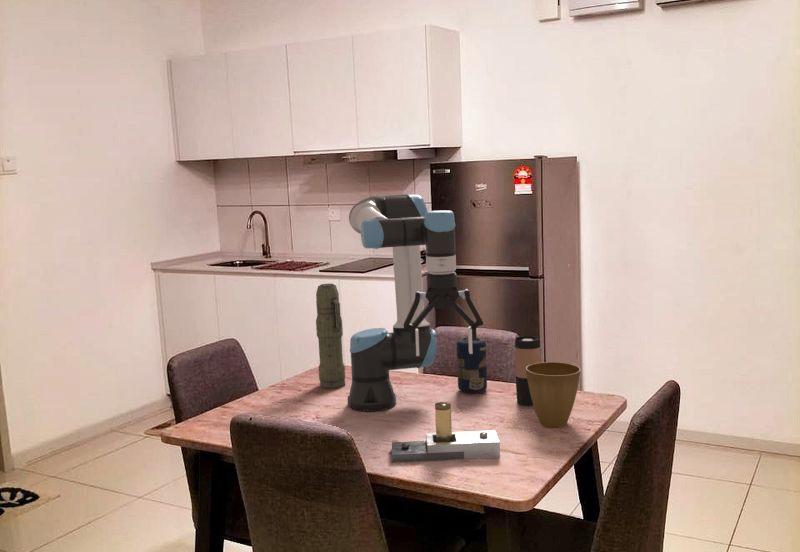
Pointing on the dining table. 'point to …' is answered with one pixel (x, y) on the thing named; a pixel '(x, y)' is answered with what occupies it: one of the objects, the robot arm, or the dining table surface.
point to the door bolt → (449, 447)
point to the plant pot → (553, 391)
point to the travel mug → (525, 365)
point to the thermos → (329, 337)
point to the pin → (443, 422)
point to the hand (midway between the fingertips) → (444, 353)
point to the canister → (472, 366)
